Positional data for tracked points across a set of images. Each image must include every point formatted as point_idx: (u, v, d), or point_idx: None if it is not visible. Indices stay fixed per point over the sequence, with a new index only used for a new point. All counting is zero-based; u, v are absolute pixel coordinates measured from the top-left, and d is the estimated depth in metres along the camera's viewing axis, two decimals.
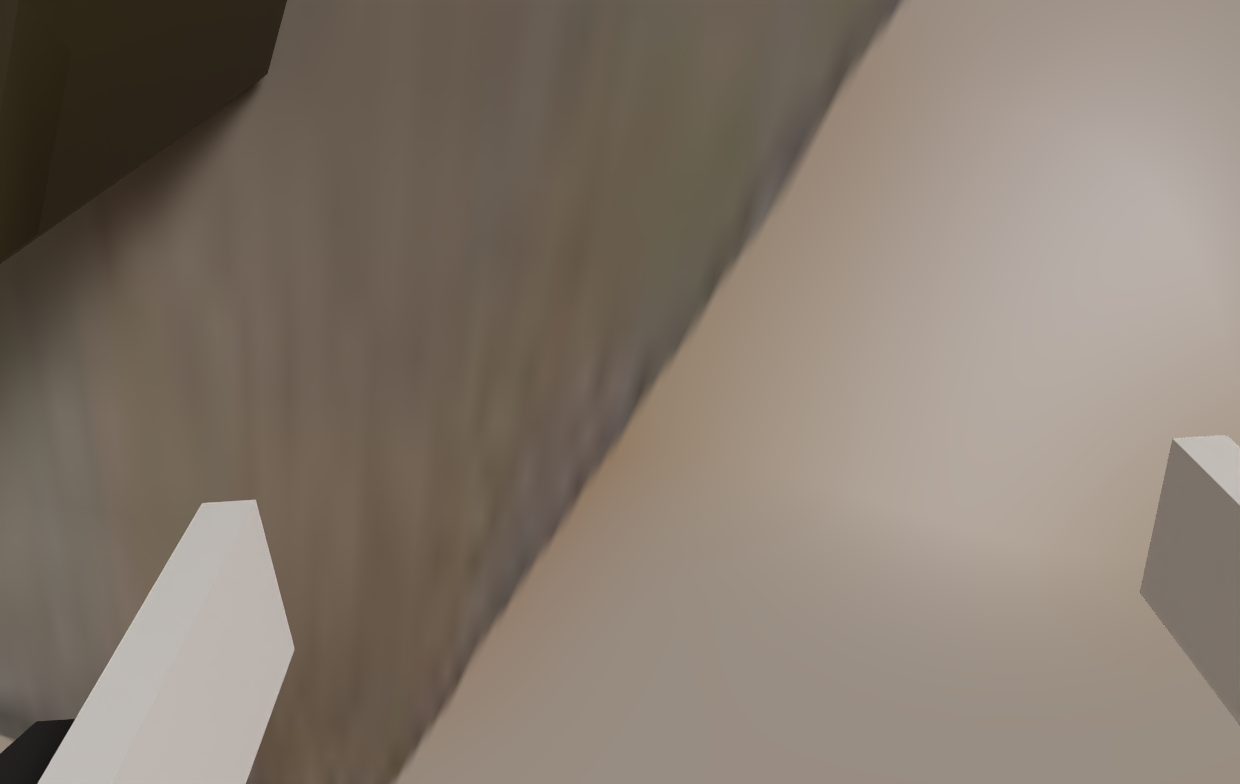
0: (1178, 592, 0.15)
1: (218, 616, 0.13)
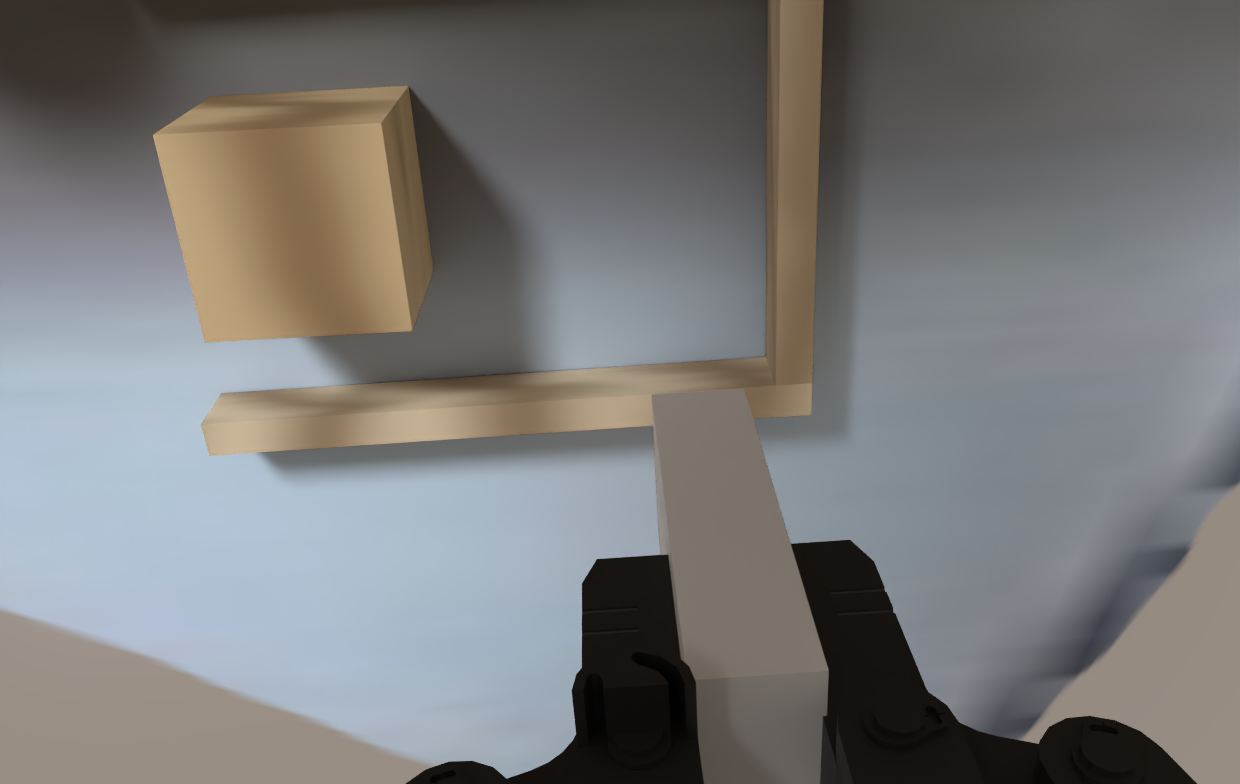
0: None
1: None
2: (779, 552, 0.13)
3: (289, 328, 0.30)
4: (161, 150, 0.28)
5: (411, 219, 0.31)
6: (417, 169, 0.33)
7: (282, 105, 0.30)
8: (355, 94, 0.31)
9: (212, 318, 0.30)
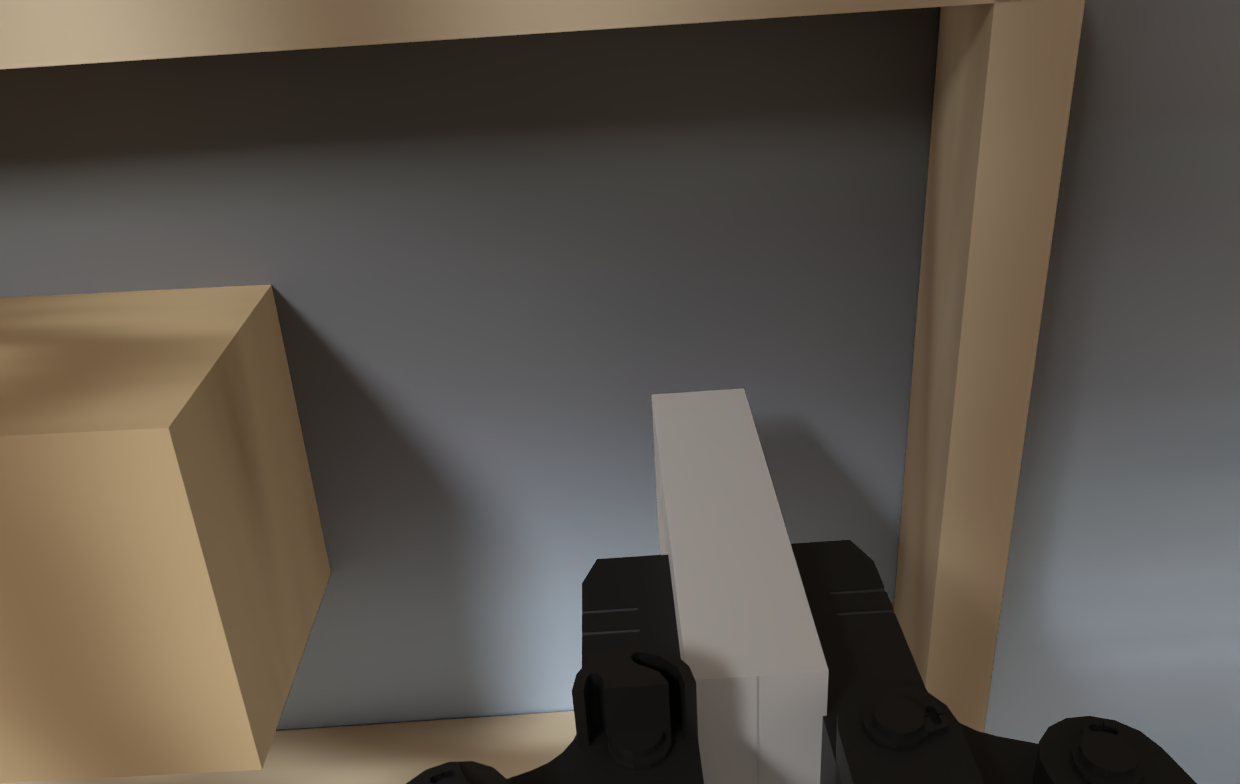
0: None
1: None
2: (779, 552, 0.13)
3: (26, 768, 0.16)
4: None
5: (269, 540, 0.17)
6: (292, 425, 0.18)
7: (15, 342, 0.16)
8: (165, 309, 0.17)
9: None
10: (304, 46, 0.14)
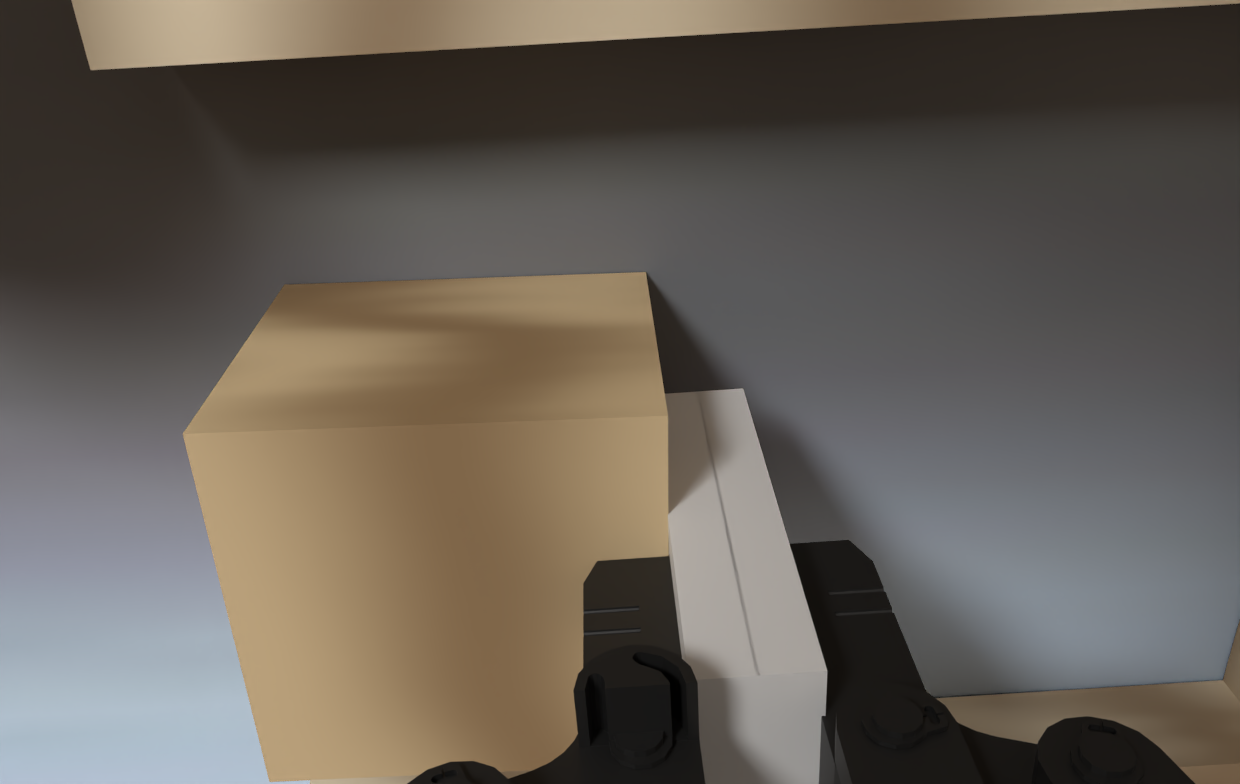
0: None
1: None
2: (778, 552, 0.13)
3: (434, 760, 0.16)
4: (200, 463, 0.13)
5: None
6: None
7: (428, 329, 0.16)
8: (558, 298, 0.16)
9: (287, 744, 0.15)
10: (858, 23, 0.14)
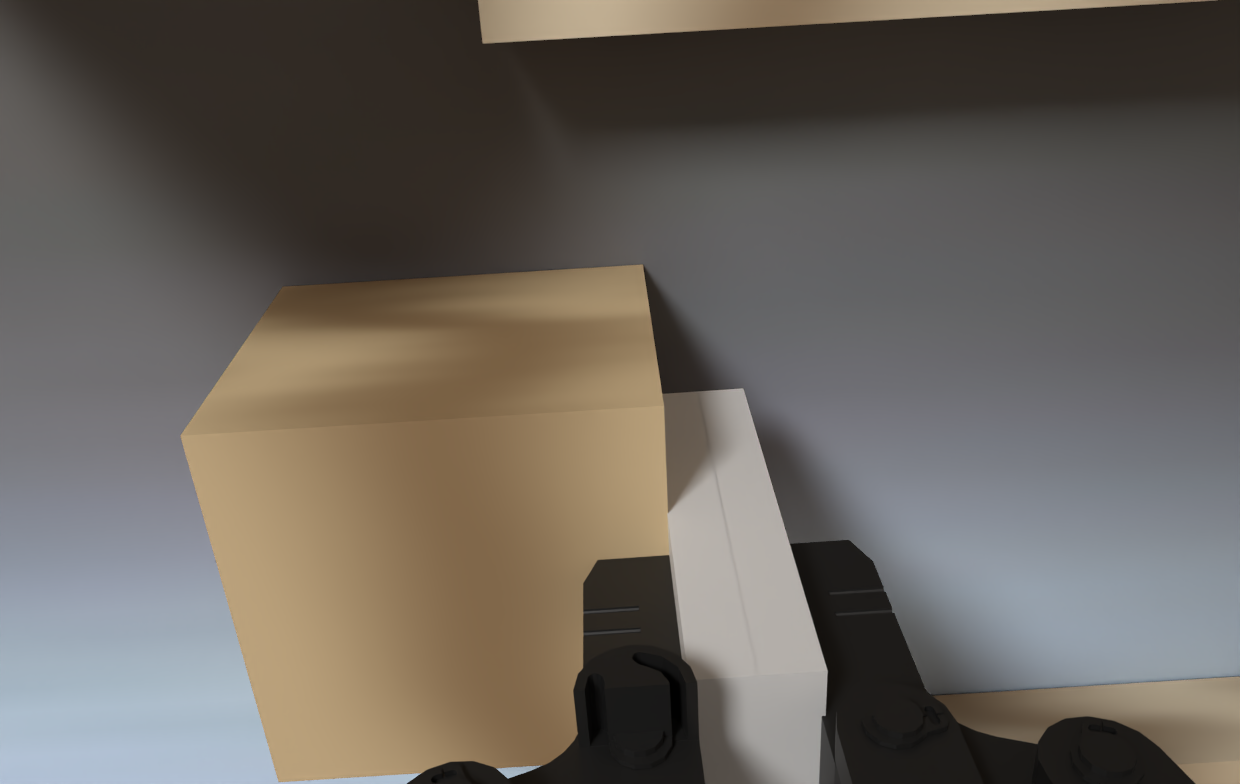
0: None
1: None
2: (778, 552, 0.13)
3: (442, 758, 0.16)
4: (198, 464, 0.13)
5: None
6: None
7: (425, 326, 0.16)
8: (555, 292, 0.16)
9: (294, 744, 0.15)
10: None
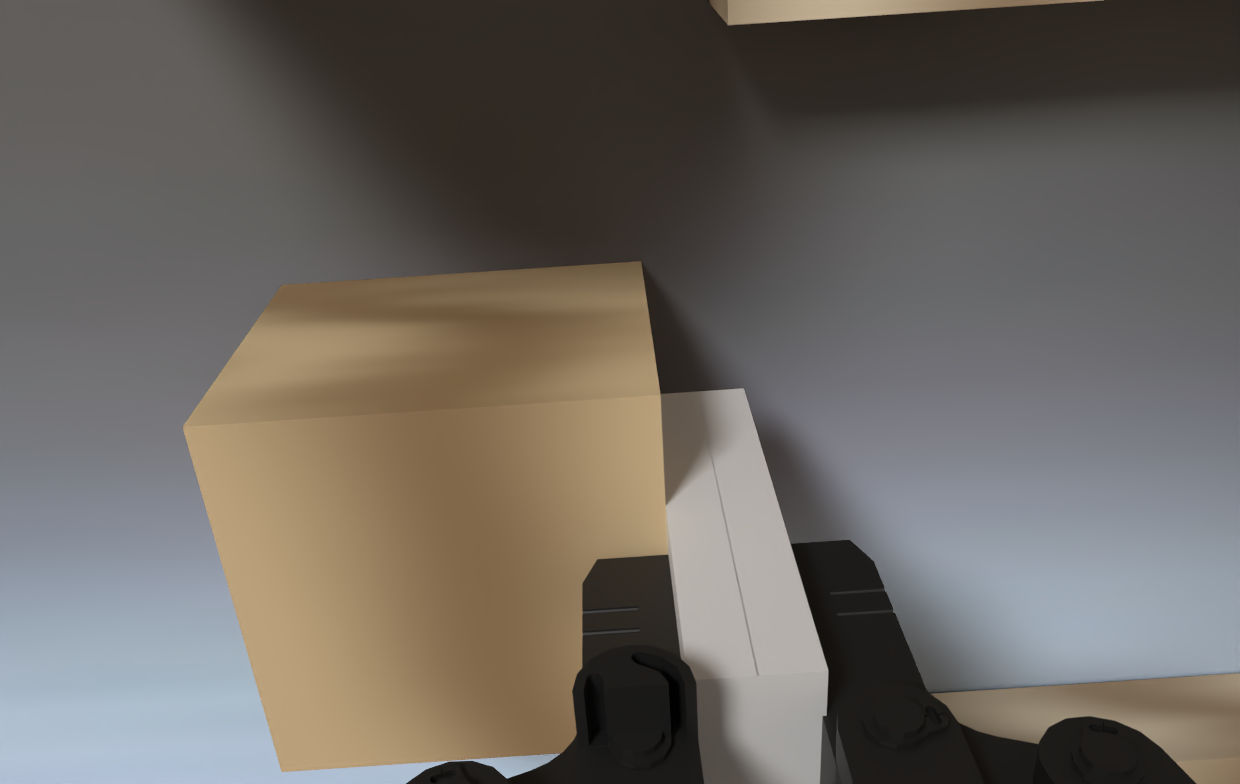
0: None
1: None
2: (779, 552, 0.13)
3: (443, 747, 0.16)
4: (200, 455, 0.13)
5: None
6: None
7: (425, 319, 0.16)
8: (553, 286, 0.17)
9: (297, 734, 0.16)
10: None
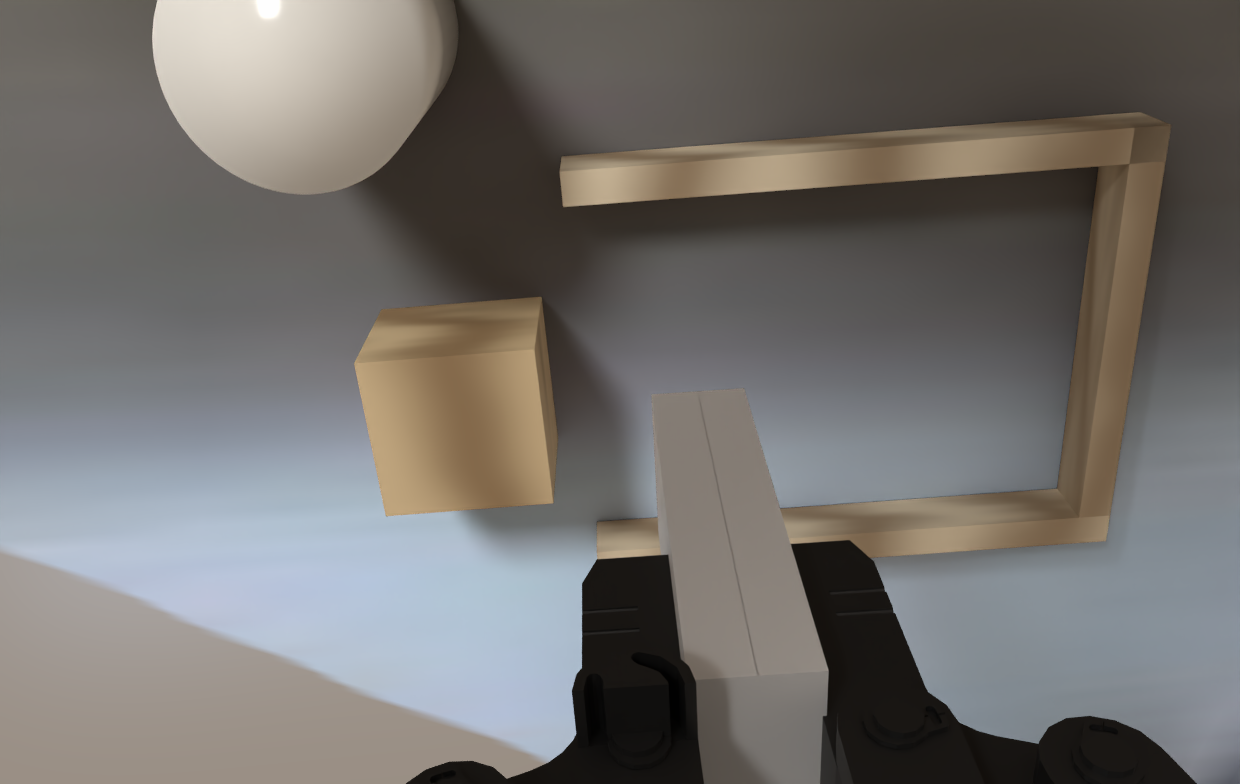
0: None
1: None
2: (779, 552, 0.13)
3: (454, 504, 0.37)
4: (360, 374, 0.35)
5: (548, 408, 0.38)
6: (548, 361, 0.40)
7: (445, 323, 0.37)
8: (500, 308, 0.38)
9: (393, 497, 0.37)
10: (859, 183, 0.35)
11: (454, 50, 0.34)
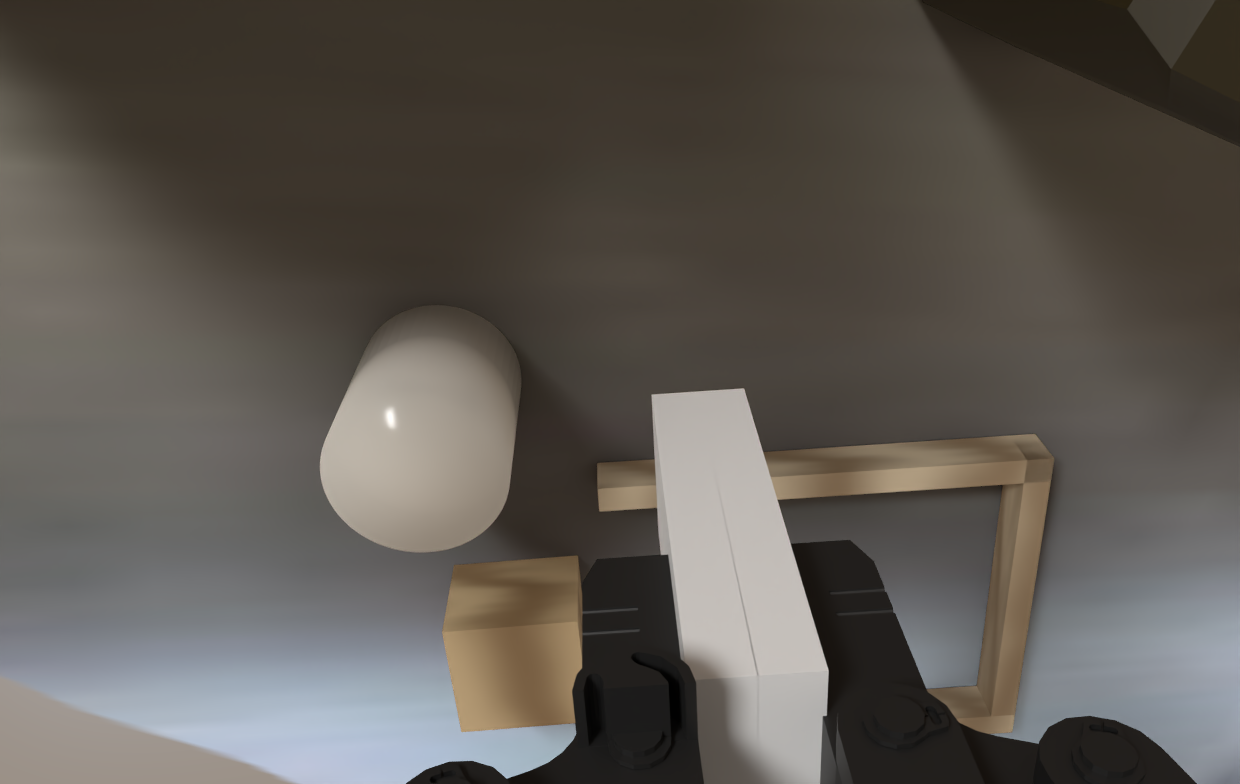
0: None
1: None
2: (779, 552, 0.13)
3: (513, 723, 0.49)
4: (446, 639, 0.46)
5: None
6: None
7: (506, 585, 0.49)
8: (547, 569, 0.50)
9: (467, 719, 0.49)
10: (822, 496, 0.47)
11: None
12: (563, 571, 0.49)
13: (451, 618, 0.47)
